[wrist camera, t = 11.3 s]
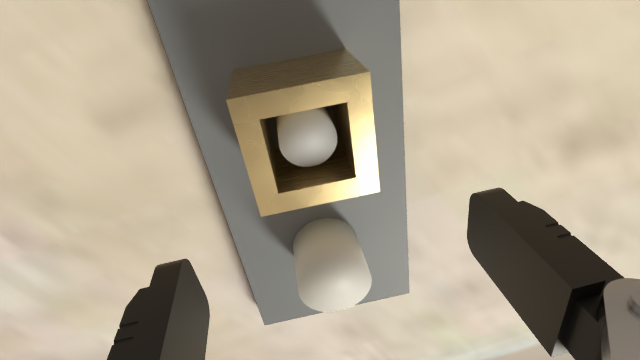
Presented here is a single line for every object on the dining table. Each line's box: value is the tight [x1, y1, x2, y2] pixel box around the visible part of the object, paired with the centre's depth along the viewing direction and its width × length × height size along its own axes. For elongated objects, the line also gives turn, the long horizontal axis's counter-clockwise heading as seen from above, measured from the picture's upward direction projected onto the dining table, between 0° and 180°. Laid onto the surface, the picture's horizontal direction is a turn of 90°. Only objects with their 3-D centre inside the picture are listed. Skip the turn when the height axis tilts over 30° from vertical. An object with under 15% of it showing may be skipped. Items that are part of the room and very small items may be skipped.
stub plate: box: [147, 0, 409, 325], centre depth 22 cm, size 12×24×6 cm, turn 9°
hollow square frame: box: [226, 48, 380, 217], centre depth 19 cm, size 6×6×5 cm
